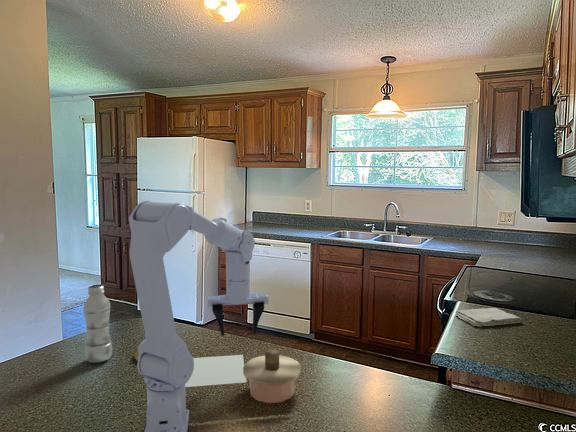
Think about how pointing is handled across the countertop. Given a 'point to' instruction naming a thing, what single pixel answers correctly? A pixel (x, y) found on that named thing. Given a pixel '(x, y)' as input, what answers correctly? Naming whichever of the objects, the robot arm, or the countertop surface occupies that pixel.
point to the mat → (217, 371)
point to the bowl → (272, 392)
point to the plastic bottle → (97, 325)
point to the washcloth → (486, 315)
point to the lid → (272, 369)
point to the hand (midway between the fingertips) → (238, 333)
